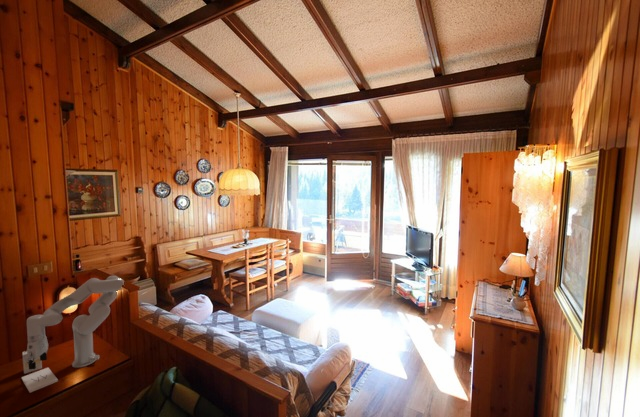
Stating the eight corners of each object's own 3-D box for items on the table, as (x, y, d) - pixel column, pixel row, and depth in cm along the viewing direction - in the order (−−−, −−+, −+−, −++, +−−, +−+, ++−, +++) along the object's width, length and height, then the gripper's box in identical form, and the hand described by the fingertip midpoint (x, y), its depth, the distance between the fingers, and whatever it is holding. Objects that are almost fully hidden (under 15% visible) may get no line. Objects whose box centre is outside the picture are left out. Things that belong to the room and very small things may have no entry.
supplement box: (41, 366, 187) (40, 346, 186) (42, 369, 184) (41, 349, 183) (23, 371, 181) (22, 351, 180) (23, 375, 178) (22, 354, 177)
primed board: (57, 381, 172) (57, 379, 172) (29, 392, 163) (29, 390, 163) (48, 369, 184) (48, 367, 184) (21, 379, 174) (21, 377, 174)
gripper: (32, 343, 165) (34, 372, 166) (54, 328, 182) (55, 355, 183) (16, 344, 163) (18, 374, 164) (40, 329, 180) (41, 356, 181)
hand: (38, 364), depth 173 cm, fingers open, 8 cm apart
